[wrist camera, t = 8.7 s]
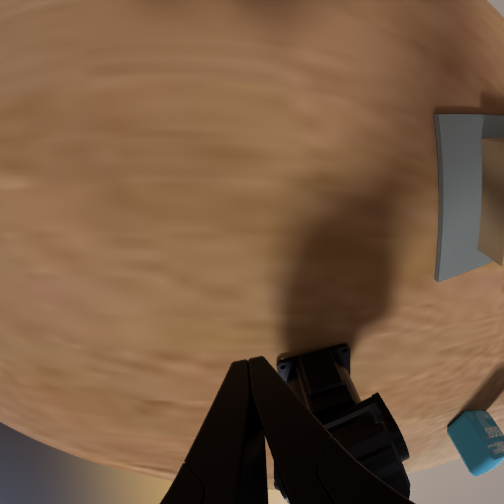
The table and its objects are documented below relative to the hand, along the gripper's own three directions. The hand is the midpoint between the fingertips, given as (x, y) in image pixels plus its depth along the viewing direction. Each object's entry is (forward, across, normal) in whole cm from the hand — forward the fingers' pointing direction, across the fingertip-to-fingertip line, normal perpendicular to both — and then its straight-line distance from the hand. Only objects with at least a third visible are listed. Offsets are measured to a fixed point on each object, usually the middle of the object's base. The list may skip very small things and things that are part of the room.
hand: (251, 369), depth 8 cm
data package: (+13, -32, +44) cm, 56 cm away
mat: (+13, -24, +2) cm, 27 cm away
